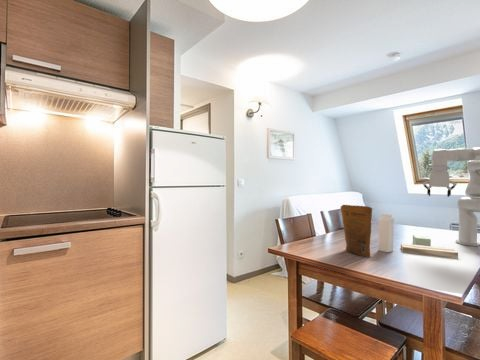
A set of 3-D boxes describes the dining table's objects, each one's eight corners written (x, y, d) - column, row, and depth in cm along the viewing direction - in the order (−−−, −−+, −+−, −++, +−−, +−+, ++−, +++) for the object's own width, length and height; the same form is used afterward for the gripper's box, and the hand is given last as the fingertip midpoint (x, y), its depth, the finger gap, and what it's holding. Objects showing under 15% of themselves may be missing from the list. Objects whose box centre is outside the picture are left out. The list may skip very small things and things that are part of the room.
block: (412, 243, 177) (412, 234, 177) (426, 245, 174) (427, 236, 174) (415, 247, 168) (415, 237, 168) (430, 248, 165) (430, 239, 165)
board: (400, 248, 165) (400, 243, 165) (452, 253, 154) (452, 248, 154) (402, 252, 156) (403, 247, 156) (457, 258, 145) (458, 252, 145)
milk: (388, 252, 154) (389, 215, 154) (378, 250, 159) (378, 214, 159) (393, 250, 158) (394, 214, 158) (382, 248, 163) (383, 213, 163)
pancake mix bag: (367, 259, 141) (368, 207, 141) (338, 250, 158) (339, 203, 157) (375, 257, 144) (376, 206, 144) (346, 249, 161) (347, 203, 161)
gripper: (456, 169, 164) (455, 196, 165) (422, 169, 174) (421, 195, 174) (458, 168, 158) (457, 197, 158) (423, 168, 167) (422, 195, 167)
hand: (438, 196), depth 166 cm, fingers open, 9 cm apart
